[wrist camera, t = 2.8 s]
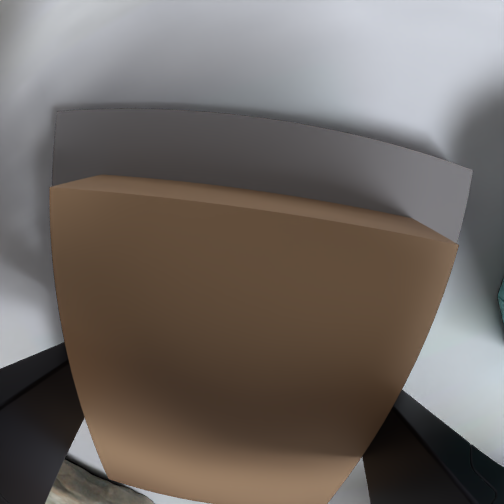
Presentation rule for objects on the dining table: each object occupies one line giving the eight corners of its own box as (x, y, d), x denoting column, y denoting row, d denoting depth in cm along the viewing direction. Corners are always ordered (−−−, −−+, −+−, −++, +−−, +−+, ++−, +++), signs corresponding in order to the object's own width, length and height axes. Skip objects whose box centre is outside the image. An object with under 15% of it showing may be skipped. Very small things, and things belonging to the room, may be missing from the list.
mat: (339, 464, 11) (342, 481, 10) (105, 431, 11) (97, 447, 10) (452, 166, 7) (473, 170, 6) (78, 113, 7) (57, 111, 6)
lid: (317, 464, 9) (322, 508, 7) (125, 438, 9) (108, 478, 7) (412, 218, 6) (458, 245, 4) (102, 174, 6) (49, 187, 4)
